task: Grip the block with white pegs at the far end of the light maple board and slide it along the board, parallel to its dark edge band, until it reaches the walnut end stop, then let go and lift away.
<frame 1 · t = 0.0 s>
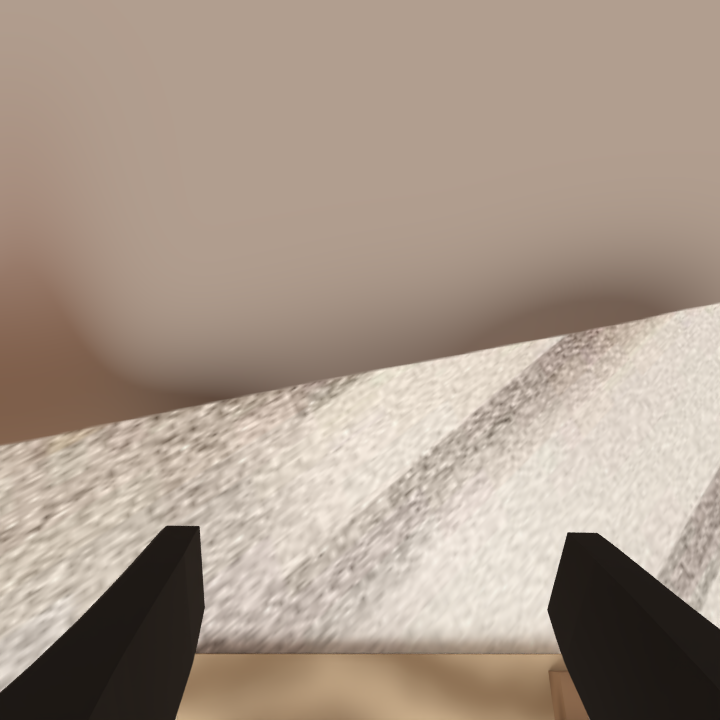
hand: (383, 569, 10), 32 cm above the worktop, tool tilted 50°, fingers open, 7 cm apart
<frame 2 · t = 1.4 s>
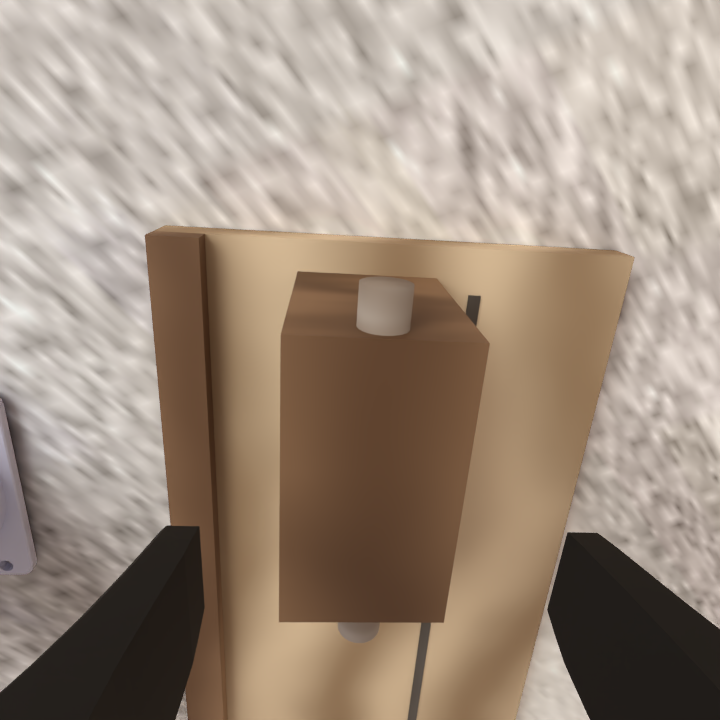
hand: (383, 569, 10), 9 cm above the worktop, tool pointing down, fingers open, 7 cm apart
block with white pegs: (359, 389, 18), point 1 cm above the worktop, touching board
board: (369, 558, 22), on the worktop
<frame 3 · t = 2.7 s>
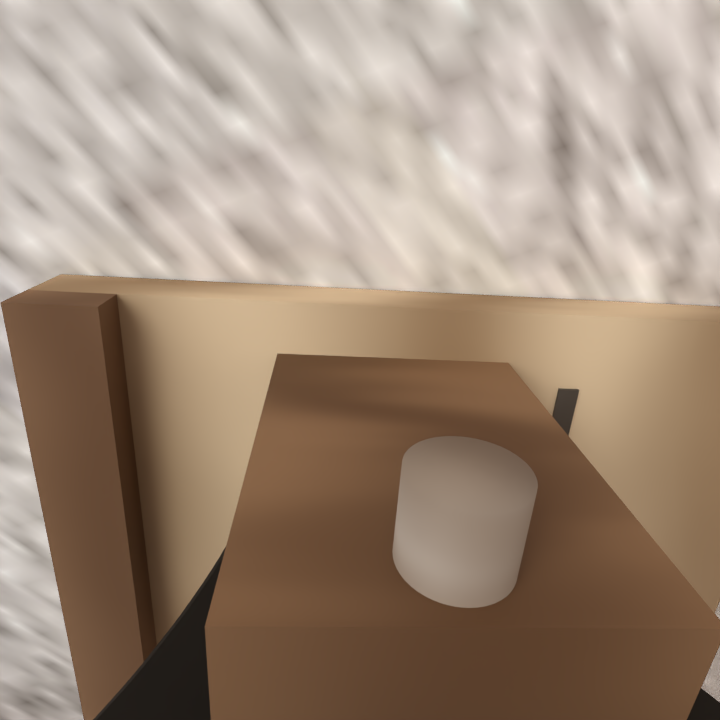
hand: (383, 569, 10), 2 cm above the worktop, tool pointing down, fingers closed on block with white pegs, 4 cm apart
block with white pegs: (378, 528, 11), point 1 cm above the worktop, touching board, gripper
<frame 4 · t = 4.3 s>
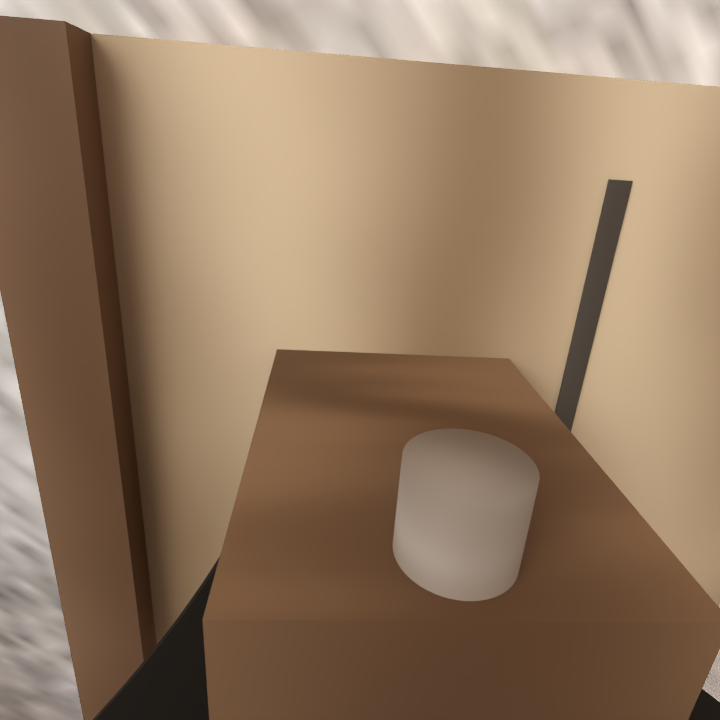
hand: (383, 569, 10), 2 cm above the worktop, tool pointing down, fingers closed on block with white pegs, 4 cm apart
block with white pegs: (378, 525, 11), point 1 cm above the worktop, touching gripper
board: (398, 635, 14), on the worktop
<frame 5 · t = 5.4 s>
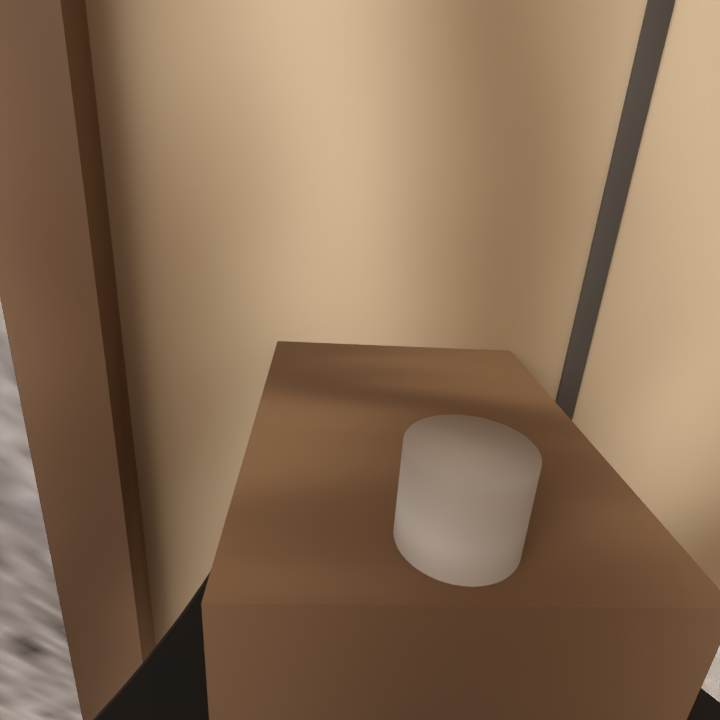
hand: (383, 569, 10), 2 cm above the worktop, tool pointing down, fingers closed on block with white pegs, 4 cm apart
block with white pegs: (379, 519, 11), point 1 cm above the worktop, touching gripper
board: (423, 429, 12), on the worktop
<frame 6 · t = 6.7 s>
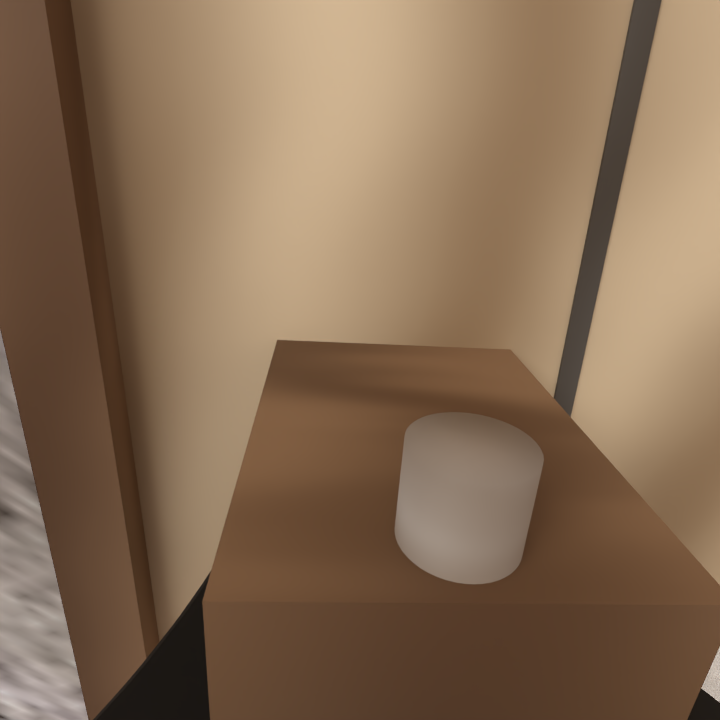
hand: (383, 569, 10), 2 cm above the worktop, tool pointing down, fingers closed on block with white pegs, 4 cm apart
block with white pegs: (379, 518, 11), point 1 cm above the worktop, touching gripper
board: (443, 218, 10), on the worktop
when the fingers open (2 cm above the worktop, at t = 7.2 s): block with white pegs stays where it is, resting on board.
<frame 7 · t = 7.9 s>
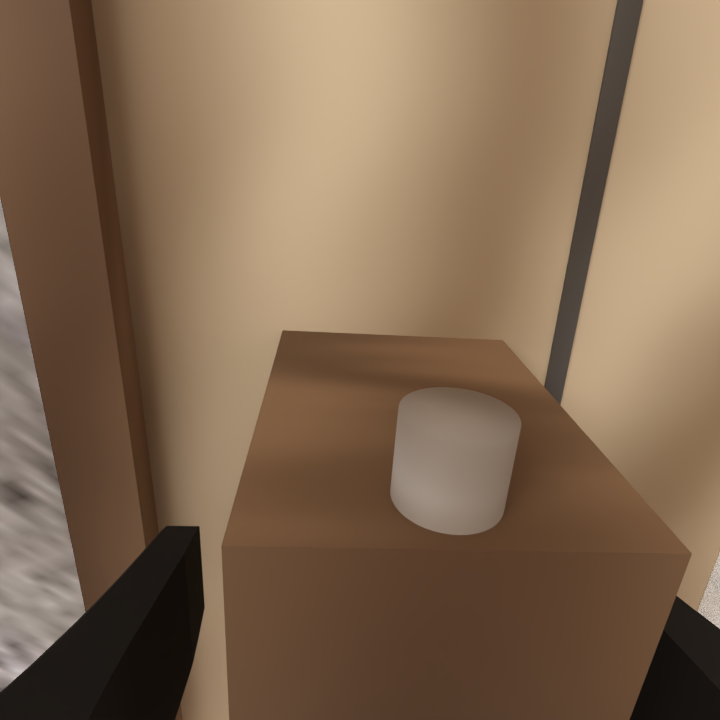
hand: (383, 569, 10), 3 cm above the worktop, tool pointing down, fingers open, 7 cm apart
block with white pegs: (378, 501, 12), point 1 cm above the worktop, touching board
board: (440, 214, 11), on the worktop
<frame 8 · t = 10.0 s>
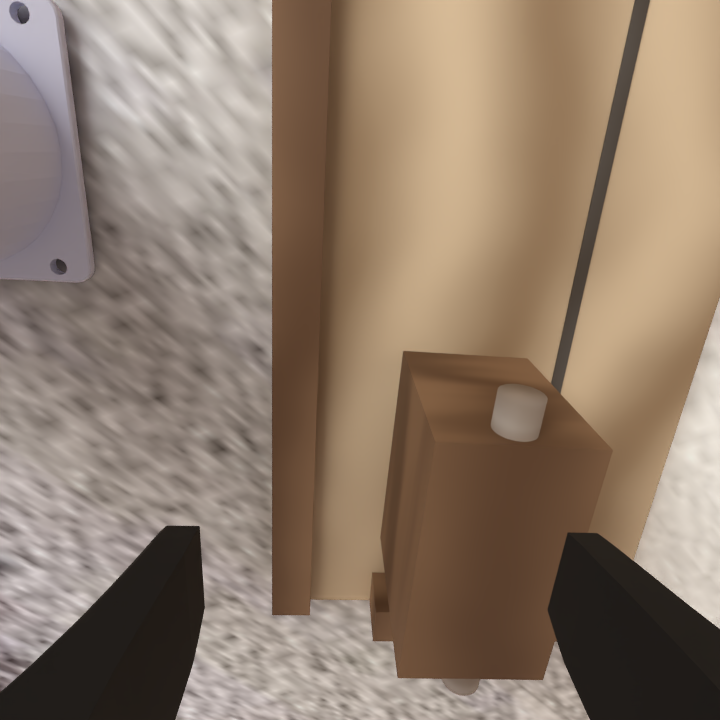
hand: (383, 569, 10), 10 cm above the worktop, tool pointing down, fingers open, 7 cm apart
block with white pegs: (448, 453, 20), point 1 cm above the worktop, touching board
board: (492, 284, 18), on the worktop
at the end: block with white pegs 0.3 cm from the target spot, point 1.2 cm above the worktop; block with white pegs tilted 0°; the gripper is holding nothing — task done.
